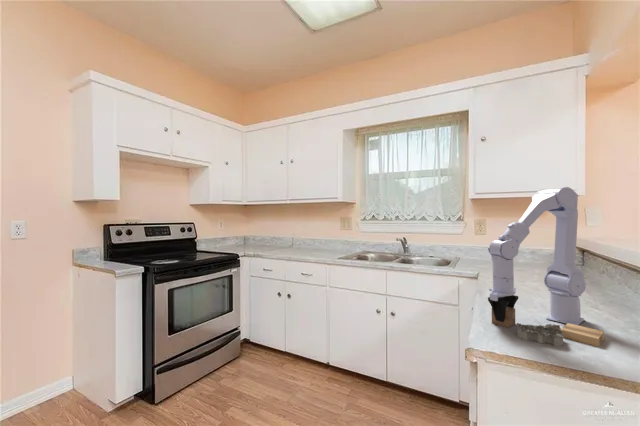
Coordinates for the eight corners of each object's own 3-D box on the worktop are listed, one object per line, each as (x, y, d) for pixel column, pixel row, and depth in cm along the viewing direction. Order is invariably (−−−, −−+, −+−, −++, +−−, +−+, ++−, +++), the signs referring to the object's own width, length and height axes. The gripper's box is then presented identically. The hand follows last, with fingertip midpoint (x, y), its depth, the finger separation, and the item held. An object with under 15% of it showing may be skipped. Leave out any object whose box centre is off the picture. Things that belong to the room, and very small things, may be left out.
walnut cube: (498, 319, 97) (498, 304, 97) (515, 324, 93) (515, 308, 93) (491, 322, 94) (491, 307, 94) (508, 327, 90) (508, 311, 90)
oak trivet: (567, 331, 88) (567, 323, 88) (604, 340, 81) (604, 331, 81) (560, 337, 83) (560, 329, 83) (598, 348, 77) (598, 338, 77)
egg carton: (562, 339, 82) (562, 325, 82) (564, 349, 76) (564, 333, 76) (516, 330, 88) (516, 317, 88) (515, 339, 82) (515, 324, 82)
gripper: (499, 272, 101) (499, 311, 101) (479, 277, 92) (480, 320, 92) (522, 275, 95) (523, 316, 95) (503, 281, 86) (504, 327, 86)
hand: (503, 319), depth 93 cm, fingers closed on walnut cube, 5 cm apart
